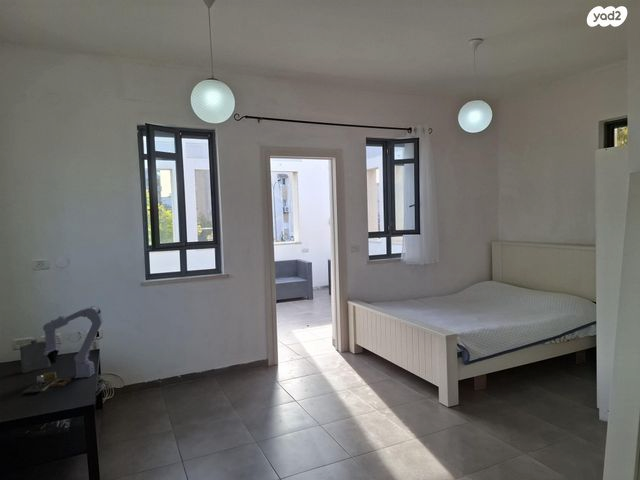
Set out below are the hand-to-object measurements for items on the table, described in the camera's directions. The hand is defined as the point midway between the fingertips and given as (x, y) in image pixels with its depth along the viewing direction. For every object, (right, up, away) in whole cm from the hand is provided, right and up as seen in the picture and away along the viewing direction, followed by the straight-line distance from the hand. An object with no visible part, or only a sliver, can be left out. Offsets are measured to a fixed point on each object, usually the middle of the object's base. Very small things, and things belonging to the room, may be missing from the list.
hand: (53, 363), depth 262 cm
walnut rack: (+10, -10, -9) cm, 17 cm away
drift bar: (+1, -9, -14) cm, 16 cm away
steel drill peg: (+1, -10, -13) cm, 17 cm away
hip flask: (-25, -11, +22) cm, 35 cm away
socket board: (+1, -11, -13) cm, 17 cm away
